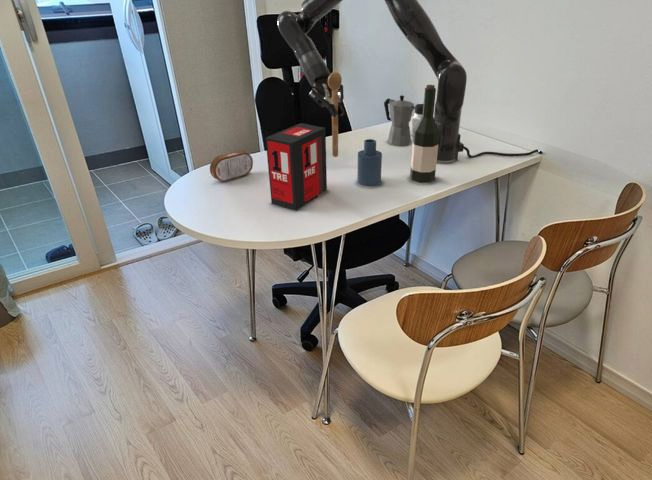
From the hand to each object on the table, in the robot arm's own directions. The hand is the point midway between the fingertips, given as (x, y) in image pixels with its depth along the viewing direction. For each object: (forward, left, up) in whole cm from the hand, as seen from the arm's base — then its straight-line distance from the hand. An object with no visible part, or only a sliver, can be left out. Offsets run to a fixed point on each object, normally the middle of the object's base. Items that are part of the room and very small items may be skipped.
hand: (339, 114), depth 161 cm
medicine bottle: (-43, -30, -19) cm, 56 cm away
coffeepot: (-30, -23, -19) cm, 42 cm away
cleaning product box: (+18, +19, -19) cm, 32 cm away
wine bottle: (-24, +16, -19) cm, 35 cm away
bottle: (-6, +14, -19) cm, 24 cm away
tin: (+36, -2, -19) cm, 41 cm away
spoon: (+1, -2, -15) cm, 15 cm away
